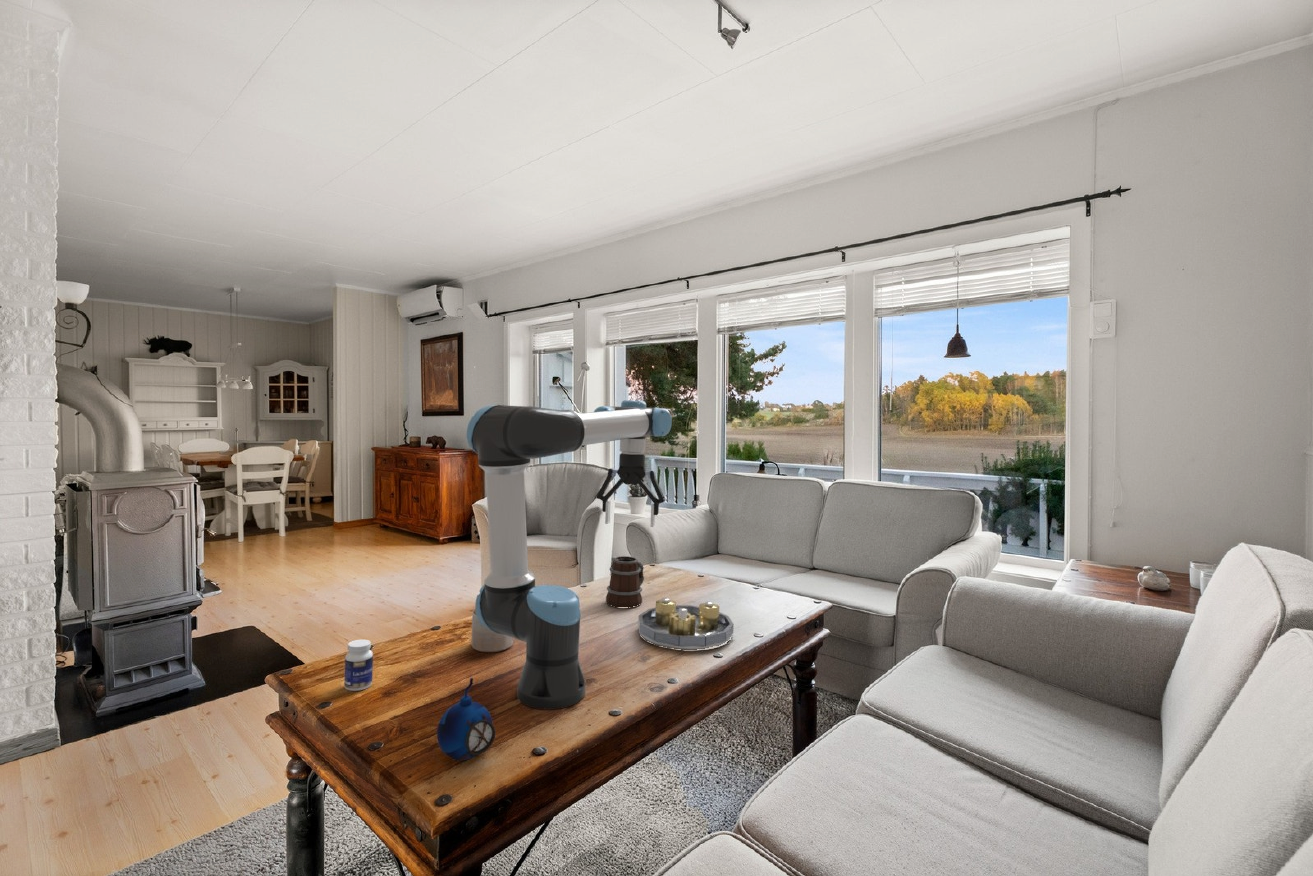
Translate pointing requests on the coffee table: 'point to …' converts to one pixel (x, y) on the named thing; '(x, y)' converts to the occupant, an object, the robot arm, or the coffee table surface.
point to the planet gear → (682, 625)
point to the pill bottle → (358, 665)
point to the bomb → (465, 729)
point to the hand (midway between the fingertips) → (629, 524)
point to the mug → (625, 582)
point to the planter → (487, 638)
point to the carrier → (709, 620)
